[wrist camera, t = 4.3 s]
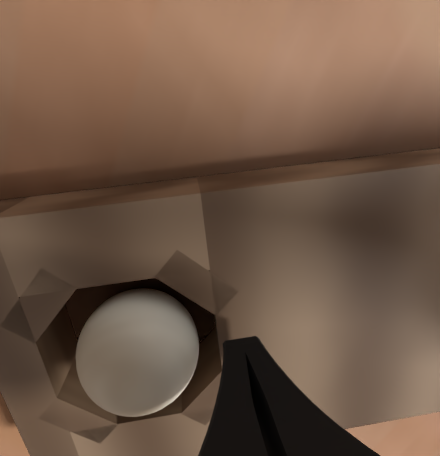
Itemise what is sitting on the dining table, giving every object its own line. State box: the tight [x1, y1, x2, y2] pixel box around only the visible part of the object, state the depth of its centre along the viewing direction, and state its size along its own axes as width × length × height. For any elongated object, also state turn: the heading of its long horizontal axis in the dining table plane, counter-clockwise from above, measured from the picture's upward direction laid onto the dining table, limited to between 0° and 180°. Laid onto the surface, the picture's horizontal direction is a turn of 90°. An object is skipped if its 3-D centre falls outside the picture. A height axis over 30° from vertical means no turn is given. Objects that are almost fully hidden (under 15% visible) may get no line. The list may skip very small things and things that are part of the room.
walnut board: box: [0, 148, 440, 456], centre depth 15 cm, size 23×13×3 cm, turn 96°
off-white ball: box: [76, 288, 199, 417], centre depth 13 cm, size 5×5×5 cm
